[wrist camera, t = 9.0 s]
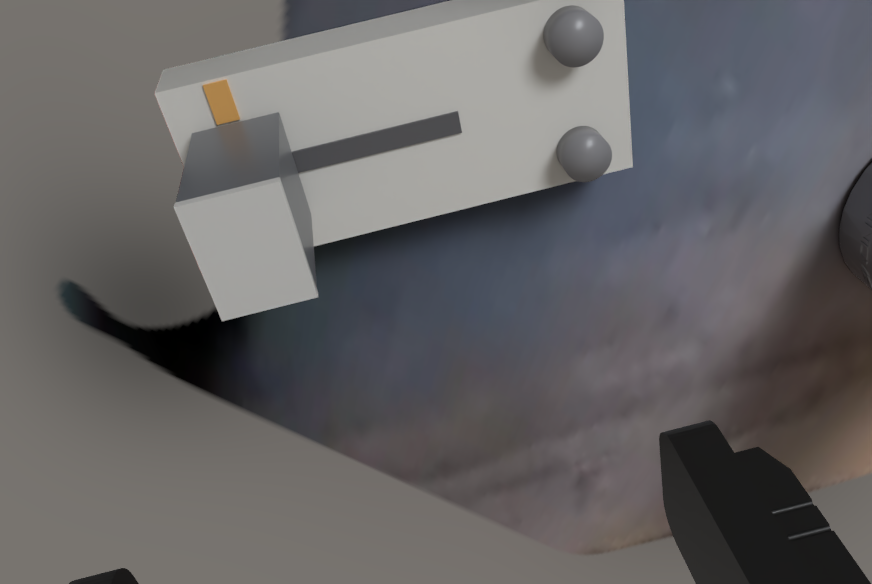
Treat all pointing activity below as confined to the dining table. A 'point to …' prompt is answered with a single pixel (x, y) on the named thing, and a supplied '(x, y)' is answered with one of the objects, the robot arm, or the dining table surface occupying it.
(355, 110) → the console
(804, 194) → the dining table surface
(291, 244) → the fader tab
